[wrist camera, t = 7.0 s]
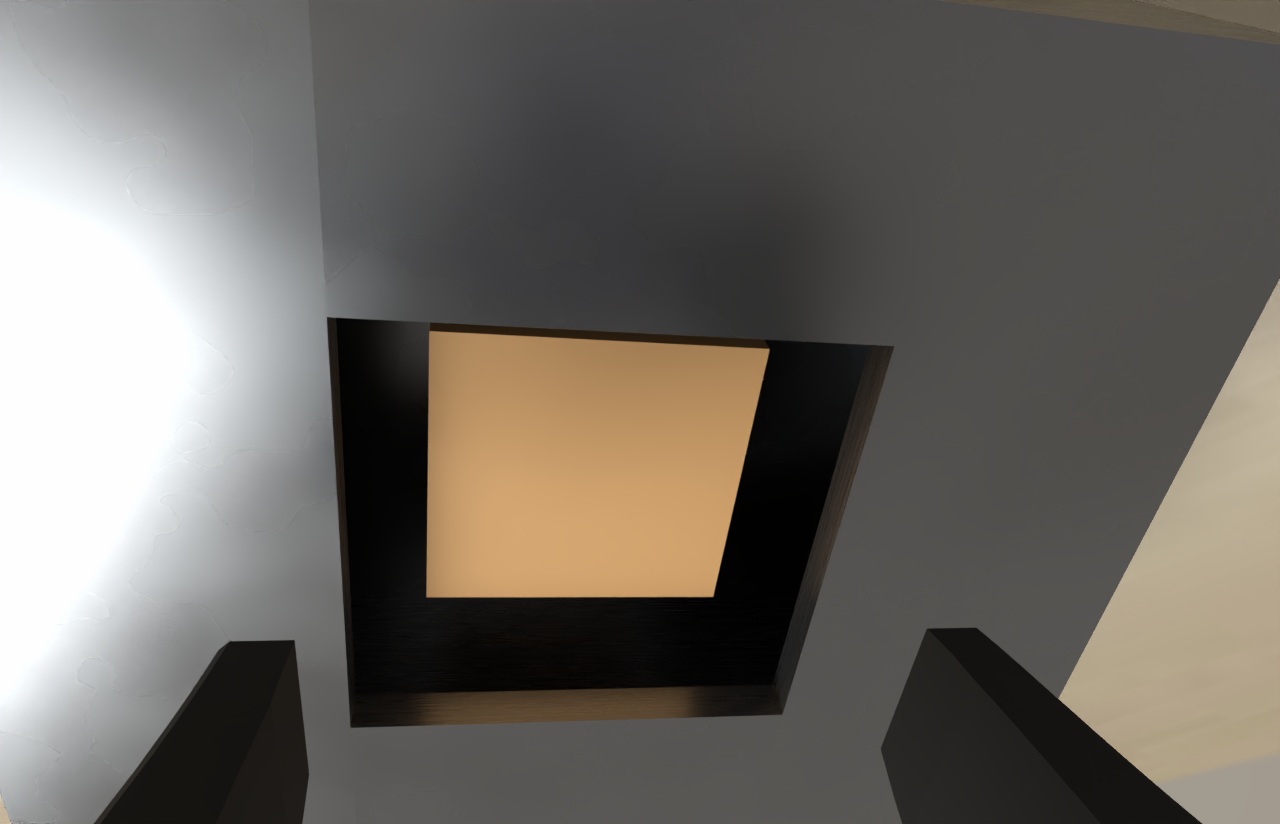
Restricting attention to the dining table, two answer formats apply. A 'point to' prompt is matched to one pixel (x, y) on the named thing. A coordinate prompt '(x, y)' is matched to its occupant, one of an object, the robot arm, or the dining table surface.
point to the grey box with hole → (596, 301)
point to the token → (584, 460)
